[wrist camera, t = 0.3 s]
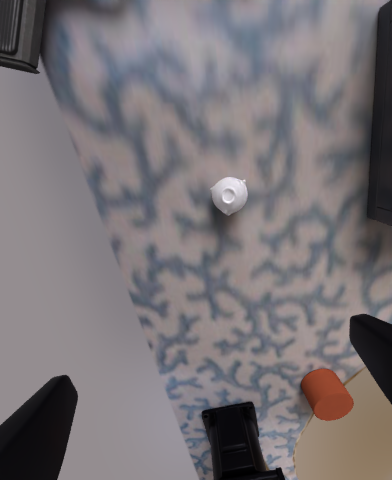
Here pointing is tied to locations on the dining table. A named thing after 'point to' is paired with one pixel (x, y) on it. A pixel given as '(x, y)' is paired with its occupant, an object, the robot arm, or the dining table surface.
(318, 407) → the stopper
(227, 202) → the white bumpy ball
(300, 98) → the dining table surface
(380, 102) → the dark grey open box
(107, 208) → the dining table surface
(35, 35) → the pistol
